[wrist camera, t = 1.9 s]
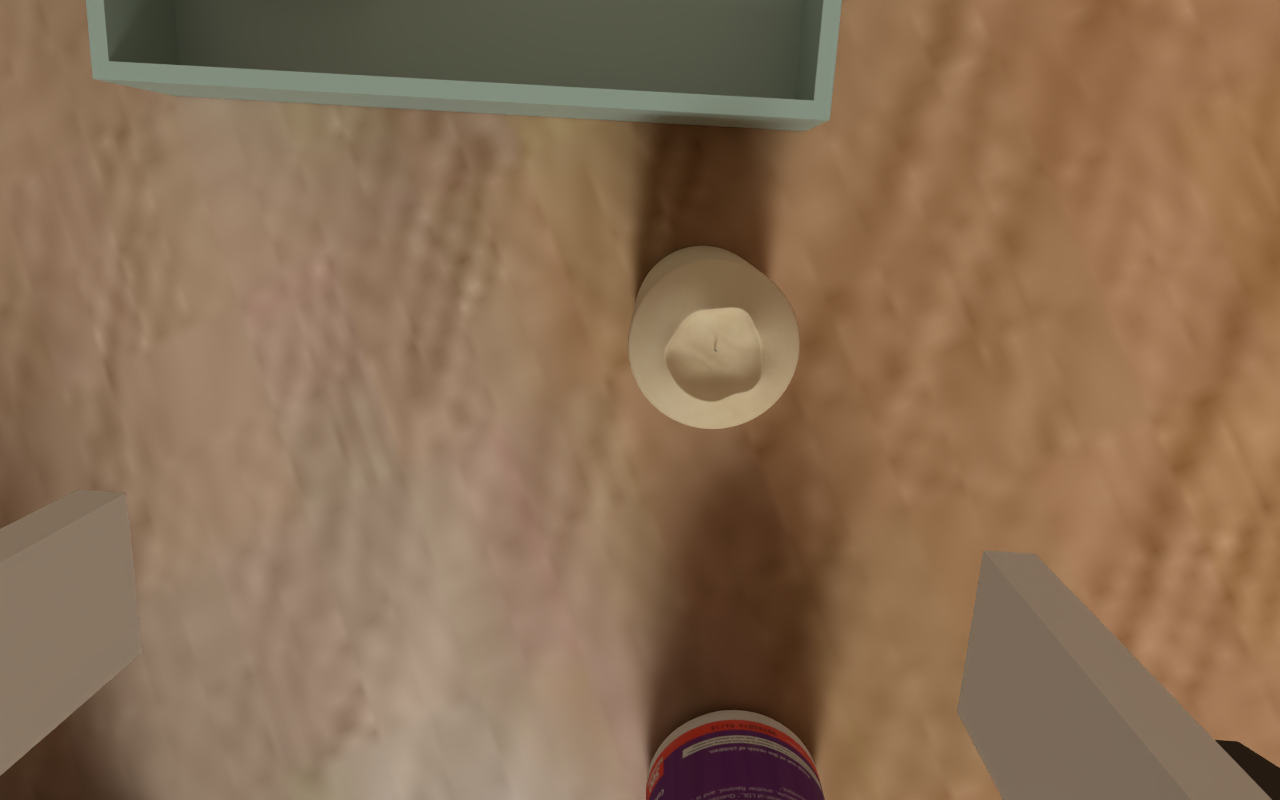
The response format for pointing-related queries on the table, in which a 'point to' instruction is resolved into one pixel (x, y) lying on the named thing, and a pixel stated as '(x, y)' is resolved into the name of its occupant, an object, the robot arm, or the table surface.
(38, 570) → the robot arm
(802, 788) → the pill bottle
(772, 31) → the tote
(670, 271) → the candle
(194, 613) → the table surface
